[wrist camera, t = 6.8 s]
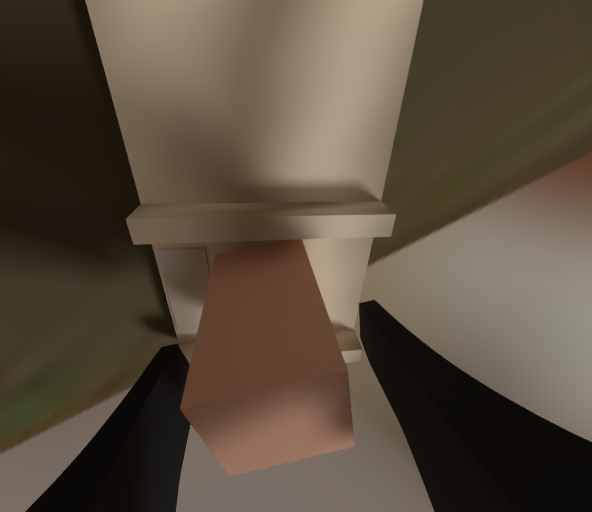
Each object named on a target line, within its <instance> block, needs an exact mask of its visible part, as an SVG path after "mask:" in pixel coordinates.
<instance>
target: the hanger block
mask: <svg viewBox="0 0 592 512" xmlns="http://www.w3.org/2000/svg"><path fill="white" fill-rule="evenodd" d="M180 410H181V411H182V413H183V414H184V415H185V417H186V418H187V419H188V421H189V422H190V423H191V425H192V426H193V428H194V429H195V430H196V432H197V433H198V434H199V436H200V437H201V438H202V440H203V441H204V442H205V444H206V445H207V446H208V448H209V449H210V450H211V452H212V453H213V454H214V456H215V457H216V458H217V460H218V461H219V462H220V464H221V465H222V466H223V468H224V469H225V471H226V472H227V473H228V474H229V476H234V475H238V474H243V473H246V472H251V471H255V470H258V469H263V468H267V467H271V466H275V465H279V464H284V463H288V462H292V461H296V460H300V459H304V458H308V457H312V456H317V455H321V454H325V453H329V452H333V451H337V450H341V449H346V448H350V447H354V435H353V425H352V413H351V402H350V391H349V379H348V370H347V367H346V364H345V361H344V358H343V355H342V353H341V350H340V347H339V344H338V341H337V338H336V335H335V332H334V330H333V327H332V324H331V321H330V318H329V315H328V312H327V310H326V307H325V304H324V301H323V298H322V295H321V292H320V289H319V287H318V284H317V281H316V278H315V275H314V272H313V269H312V267H311V264H310V261H309V258H308V255H307V252H306V249H305V246H304V244H303V241H302V239H299V240H282V241H277V242H273V243H268V244H263V245H258V246H254V247H249V248H244V249H239V250H235V251H230V252H225V253H220V254H216V255H215V257H214V261H213V265H212V270H211V274H210V279H209V283H208V287H207V292H206V296H205V301H204V305H203V309H202V314H201V318H200V323H199V327H198V332H197V336H196V340H195V345H194V349H193V354H192V358H191V362H190V367H189V371H188V376H187V380H186V384H185V389H184V393H183V398H182V402H181V406H180Z"/></svg>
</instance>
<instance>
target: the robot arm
mask: <svg viewBox="0 0 592 512" xmlns="http://www.w3.org/2000/svg"><path fill="white" fill-rule="evenodd" d="M359 313H360V314H359V315H360V338H361V341H362V344H363V346H364V349H365V352H366V355H367V357H368V360H369V362H370V365H371V367H372V369H373V371H374V373H375V375H376V377H377V378H378V381H379V383H380V385H381V387H382V389H383V390H384V393H385V395H386V396H387V399H388V401H389V402H390V405H391V407H392V409H393V411H394V413H395V415H396V417H397V418H398V421H399V423H400V425H401V427H402V429H403V432H404V434H405V437H406V439H407V442H408V444H409V447H410V449H411V452H412V454H413V457H414V459H415V462H416V464H417V467H418V470H419V472H420V475H421V477H422V480H423V482H424V485H425V487H426V490H427V493H428V496H429V498H430V501H431V503H432V506H433V509H434V512H592V442H590V441H588V440H586V439H583V438H582V437H579V436H577V435H575V434H573V433H571V432H569V431H567V430H565V429H563V428H561V427H559V426H557V425H555V424H553V423H551V422H550V421H548V420H546V419H544V418H542V417H540V416H538V415H536V414H534V413H533V412H531V411H529V410H527V409H525V408H524V407H522V406H520V405H518V404H516V403H515V402H513V401H511V400H509V399H508V398H505V397H504V396H502V395H500V394H499V393H497V392H495V391H494V390H492V389H490V388H489V387H487V386H486V385H484V384H482V383H480V382H479V381H478V380H476V379H474V378H473V377H471V376H470V375H468V374H467V373H465V372H463V371H462V370H461V369H459V368H458V367H456V366H455V365H453V364H452V363H450V362H449V361H448V360H446V359H445V358H443V357H442V356H441V355H439V354H438V353H436V352H435V351H434V350H433V349H431V348H430V347H429V346H427V345H426V344H425V343H423V342H422V341H421V340H420V339H419V338H417V337H416V336H415V335H413V334H412V333H411V332H410V331H409V330H407V329H406V328H405V327H404V326H403V325H402V324H400V323H399V322H398V321H397V320H396V319H395V318H394V317H393V316H391V315H390V314H389V313H388V312H387V311H386V310H385V309H384V308H383V307H382V306H381V305H380V304H379V303H377V302H376V301H375V300H372V301H368V302H363V303H359ZM189 367H190V364H189V362H188V360H187V359H186V357H185V355H184V354H183V352H182V350H181V349H180V347H179V345H178V344H174V345H169V346H165V347H161V349H160V350H159V351H158V353H157V354H156V355H155V357H154V358H153V359H152V361H151V362H150V364H149V365H148V366H147V368H146V369H145V371H144V372H143V373H142V375H141V376H140V378H139V379H138V380H137V382H136V383H135V384H134V386H133V387H132V388H131V390H130V391H129V392H128V394H127V395H126V396H125V398H124V399H123V401H122V402H121V403H120V404H119V406H118V407H117V408H116V410H115V411H114V412H113V413H112V415H111V416H110V417H109V418H108V420H107V421H106V422H105V423H104V425H103V426H102V427H101V429H100V430H99V431H98V432H97V433H96V435H95V436H94V437H93V438H92V440H91V441H90V442H89V443H88V445H87V446H86V447H85V448H84V449H83V450H82V451H81V453H80V454H79V455H78V456H77V457H76V458H75V460H73V462H72V463H71V464H70V465H69V466H68V467H67V468H66V470H65V471H64V472H63V473H62V474H61V475H60V476H59V477H58V478H57V479H56V481H55V482H54V483H53V484H52V485H51V486H50V487H49V488H48V489H47V490H46V491H45V492H44V493H43V494H42V495H41V496H40V497H39V498H38V499H37V500H36V501H35V502H34V503H33V504H32V505H31V506H30V507H29V508H28V510H27V511H26V512H176V505H177V496H178V487H179V480H180V474H181V468H182V464H183V459H184V453H185V449H186V444H187V438H188V434H189V429H190V424H191V423H190V422H189V421H188V419H187V418H186V417H185V415H184V414H183V413H182V411H181V410H180V406H181V402H182V398H183V393H184V389H185V384H186V380H187V376H188V371H189Z"/></svg>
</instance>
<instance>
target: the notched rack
mask: <svg viewBox="0 0 592 512" xmlns="http://www.w3.org/2000/svg"><path fill="white" fill-rule="evenodd" d="M85 1H86V5H87V8H88V12H89V16H90V19H91V23H92V27H93V30H94V34H95V38H96V41H97V45H98V49H99V52H100V56H101V60H102V63H103V67H104V71H105V74H106V78H107V82H108V85H109V89H110V93H111V96H112V100H113V104H114V107H115V111H116V115H117V118H118V122H119V126H120V129H121V133H122V137H123V140H124V144H125V148H126V151H127V155H128V159H129V162H130V166H131V170H132V173H133V177H134V181H135V184H136V188H137V192H138V195H139V199H140V203H141V204H140V205H139V206H138V207H137V208H136V209H135V210H134V211H133V212H132V213H131V214H130V215H129V216H128V217H127V218H126V222H127V225H128V229H129V232H130V235H131V238H132V241H133V245H139V244H152V247H153V251H154V254H155V258H156V262H157V265H158V269H159V273H160V276H161V280H162V284H163V287H164V291H165V295H166V298H167V302H168V306H169V309H170V313H171V317H172V320H173V324H174V328H175V331H176V335H177V339H178V342H179V347H180V349H181V350H182V352H183V354H184V355H185V357H186V359H187V360H188V362H189V364H190V362H191V358H192V354H193V349H194V345H195V340H196V336H197V332H198V327H199V323H200V318H201V314H202V309H203V305H204V301H205V296H206V292H207V287H208V283H209V279H210V274H211V270H212V265H213V261H214V257H215V255H216V254H220V253H225V252H230V251H235V250H239V249H244V248H249V247H254V246H258V245H263V244H268V243H273V242H277V241H282V240H299V239H302V241H303V244H304V246H305V249H306V252H307V255H308V258H309V261H310V264H311V267H312V269H313V272H314V275H315V278H316V281H317V284H318V287H319V289H320V292H321V295H322V298H323V301H324V304H325V307H326V310H327V312H328V315H329V318H330V321H331V324H332V327H333V330H334V332H335V335H336V338H337V341H338V344H339V347H340V350H341V353H342V355H343V358H344V361H345V363H348V362H358V361H360V357H361V354H362V347H361V345H360V343H359V341H358V338H357V336H356V334H355V331H354V326H355V321H356V316H357V311H358V307H359V302H360V297H361V292H362V288H363V283H364V278H365V274H366V269H367V264H368V260H369V255H370V250H371V245H372V241H373V237H391V234H392V230H393V226H394V222H395V218H396V214H395V213H394V212H393V211H392V210H391V209H389V208H388V207H387V206H386V205H385V204H383V203H382V202H381V198H382V194H383V189H384V184H385V179H386V175H387V170H388V165H389V161H390V156H391V151H392V146H393V142H394V137H395V132H396V128H397V123H398V118H399V113H400V109H401V104H402V99H403V95H404V90H405V85H406V80H407V76H408V71H409V66H410V62H411V57H412V52H413V47H414V43H415V38H416V33H417V29H418V24H419V19H420V14H421V10H422V5H423V0H85Z"/></svg>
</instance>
